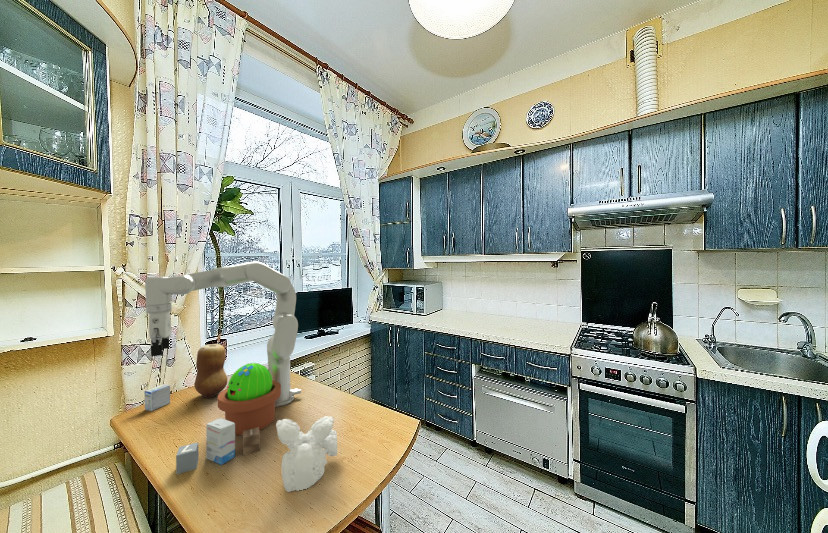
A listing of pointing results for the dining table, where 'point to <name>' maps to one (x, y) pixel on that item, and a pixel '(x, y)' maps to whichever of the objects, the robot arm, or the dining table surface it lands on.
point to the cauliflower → (305, 452)
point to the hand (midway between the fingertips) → (160, 352)
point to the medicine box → (157, 397)
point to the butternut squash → (210, 370)
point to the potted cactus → (250, 398)
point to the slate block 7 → (187, 458)
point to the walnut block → (251, 441)
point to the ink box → (220, 441)
